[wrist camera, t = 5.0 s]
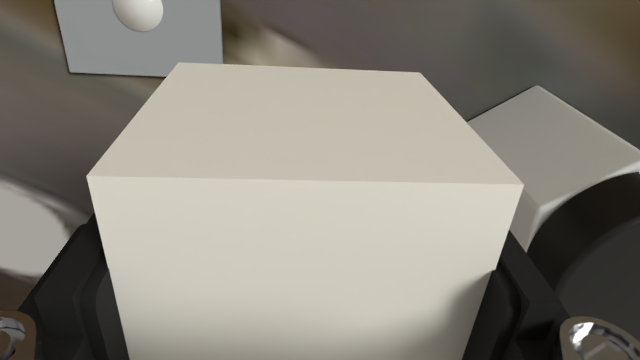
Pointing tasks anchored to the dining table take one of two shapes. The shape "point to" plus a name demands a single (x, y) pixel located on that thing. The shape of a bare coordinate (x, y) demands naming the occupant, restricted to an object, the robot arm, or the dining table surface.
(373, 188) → the white cube
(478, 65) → the dining table surface
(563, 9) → the dining table surface
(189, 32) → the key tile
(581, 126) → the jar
